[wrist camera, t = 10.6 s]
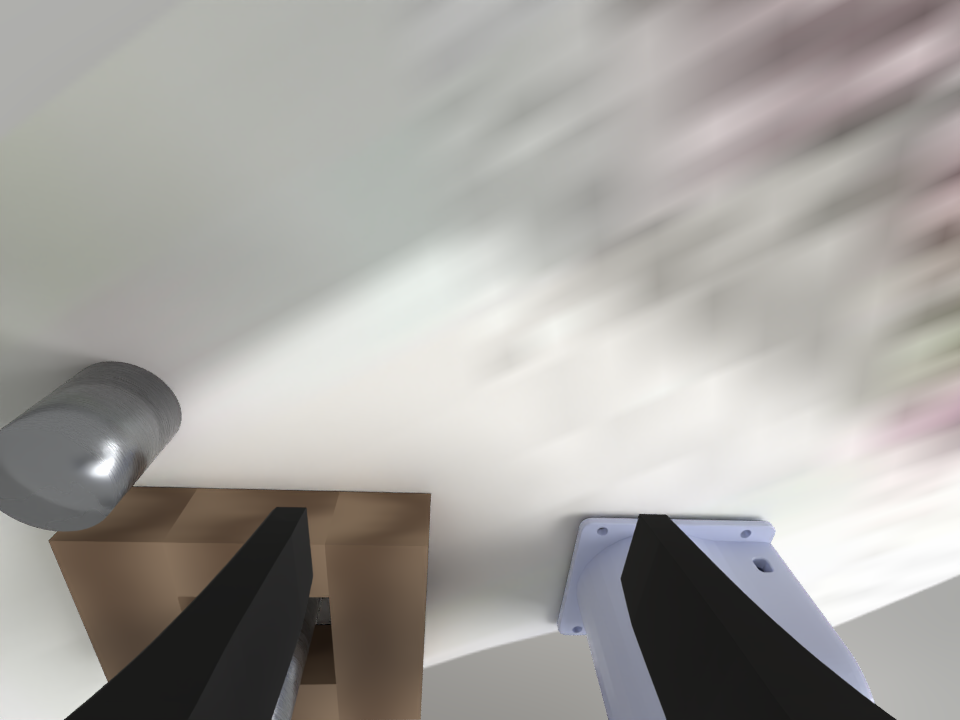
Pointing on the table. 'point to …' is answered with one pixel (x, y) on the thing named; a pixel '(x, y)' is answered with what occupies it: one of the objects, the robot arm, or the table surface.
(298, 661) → the tall pin
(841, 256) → the table surface
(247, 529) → the wooden square frame
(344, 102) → the table surface
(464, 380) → the table surface
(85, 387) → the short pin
